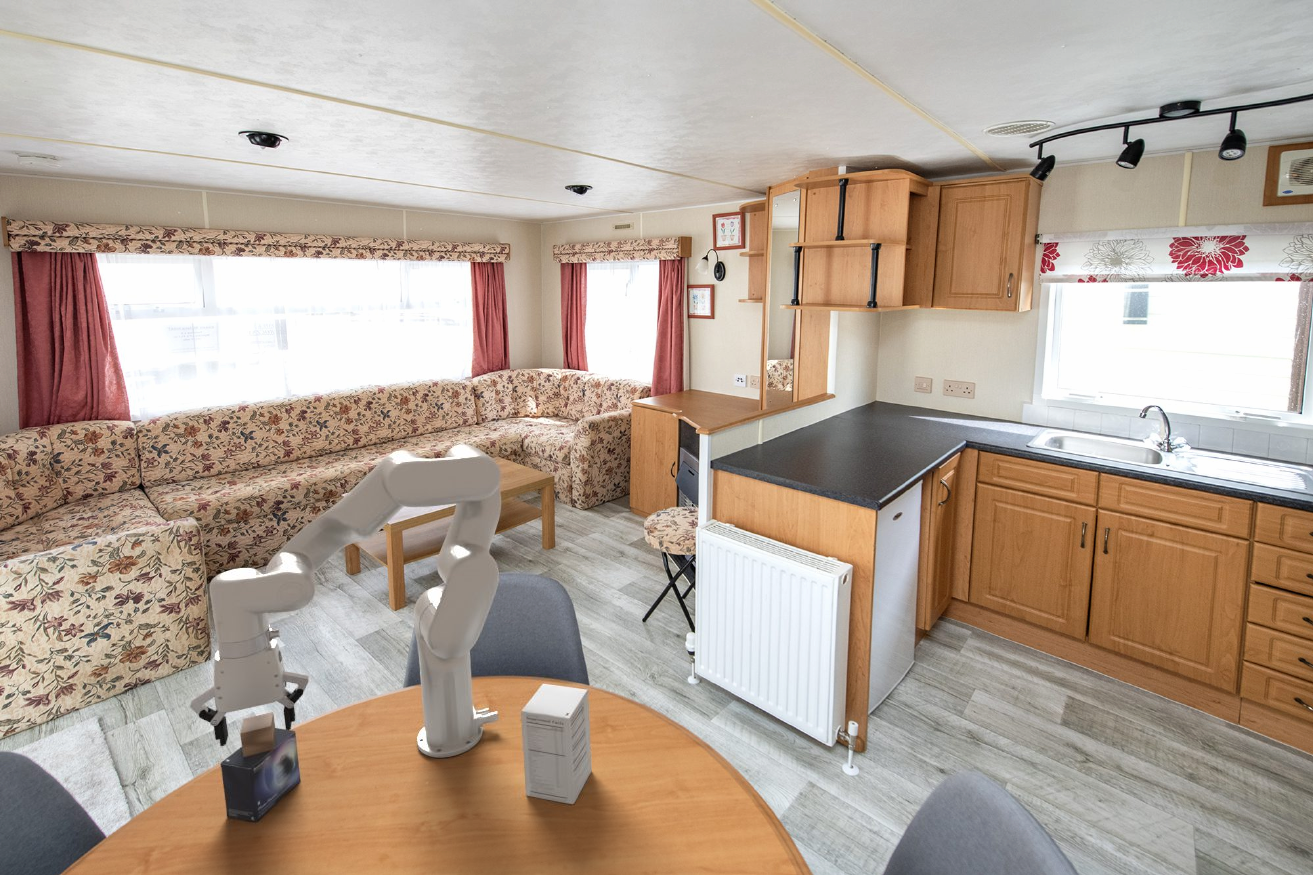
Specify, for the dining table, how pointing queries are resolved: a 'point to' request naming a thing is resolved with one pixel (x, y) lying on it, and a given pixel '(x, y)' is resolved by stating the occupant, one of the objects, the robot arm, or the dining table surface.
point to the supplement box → (556, 743)
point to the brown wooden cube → (258, 734)
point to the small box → (260, 778)
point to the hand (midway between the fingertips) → (257, 733)
